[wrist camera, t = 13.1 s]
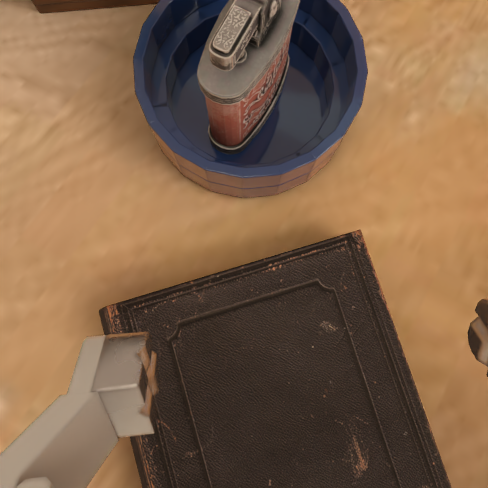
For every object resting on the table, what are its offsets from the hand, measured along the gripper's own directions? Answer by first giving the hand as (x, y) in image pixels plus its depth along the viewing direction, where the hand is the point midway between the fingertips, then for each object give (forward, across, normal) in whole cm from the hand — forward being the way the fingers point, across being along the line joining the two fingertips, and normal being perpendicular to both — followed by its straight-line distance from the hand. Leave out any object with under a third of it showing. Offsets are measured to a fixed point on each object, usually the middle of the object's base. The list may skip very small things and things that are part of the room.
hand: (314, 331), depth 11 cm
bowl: (+22, 0, +1) cm, 22 cm away
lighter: (+21, 0, +1) cm, 21 cm away
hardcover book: (+6, 0, +17) cm, 18 cm away
